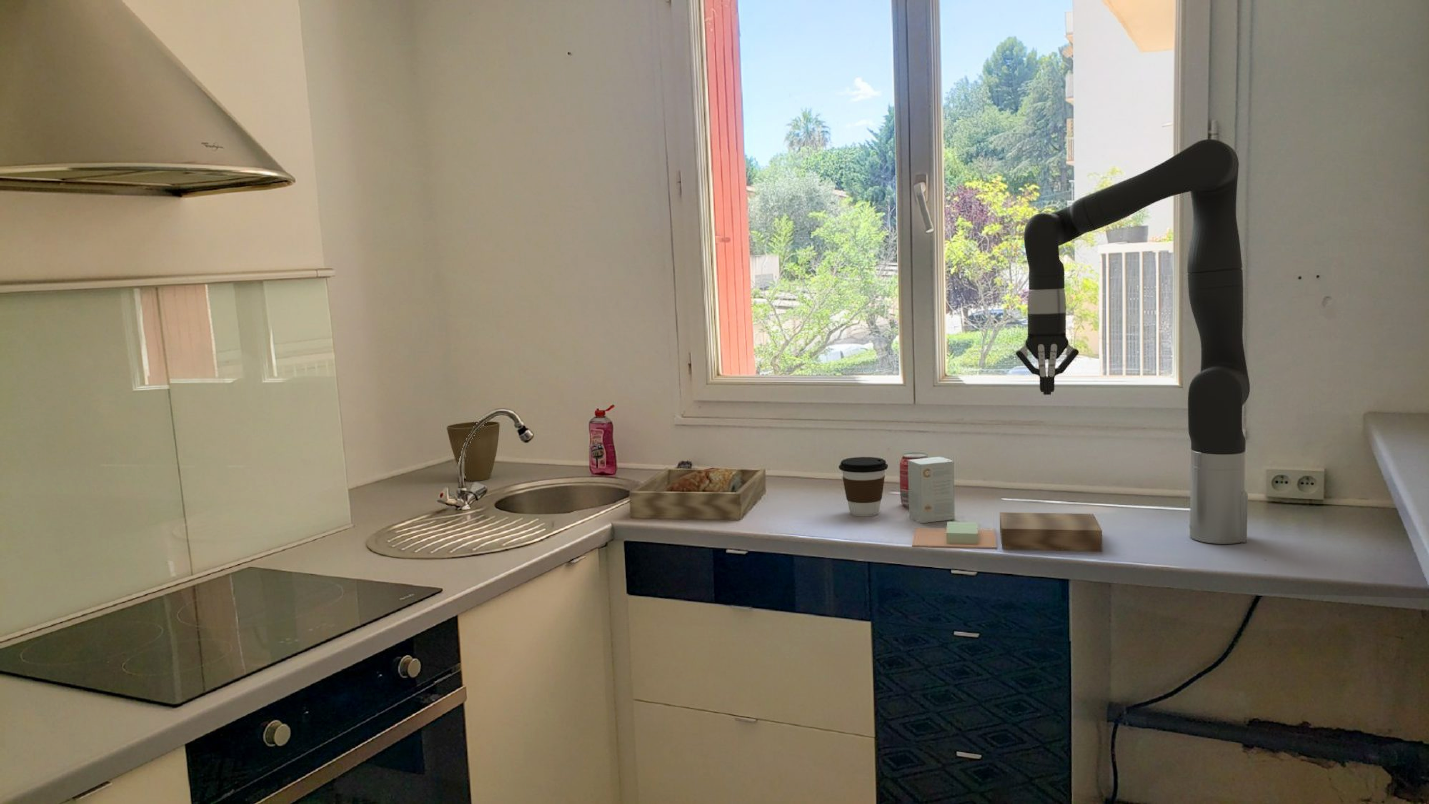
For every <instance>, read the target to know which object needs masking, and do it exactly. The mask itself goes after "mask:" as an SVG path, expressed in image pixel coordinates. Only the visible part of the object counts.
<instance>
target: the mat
mask: <svg viewBox="0 0 1429 804" xmlns="http://www.w3.org/2000/svg"><path fill="white" fill-rule="evenodd" d="M946 531H947V528H915V529H914V534H913V538H912V539H913V540H912V544H911V547H912V548H913V547H914V548H915V547H916V548H948V549H949V548H951V549H952V548H953V549H955V548H957V549H994V550H995V549H996V550H997V537H996V530H995V529H978V544H973V543H946Z"/></svg>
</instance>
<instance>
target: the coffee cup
mask: <svg viewBox="0 0 1429 804" xmlns="http://www.w3.org/2000/svg"><path fill="white" fill-rule="evenodd" d="M888 468H889V465H888V464H887V462H886V460H885V459H884V458H881V457H873V456H855V457H848V458H844V459H842V460H841V461H840V464H839V465H838V469H839V470H840V471H841V472H842V481H843V489H844V492H845V498H846V500H847V505H848V509H849V512H850V513H851V515H853V516H856V517H870V516H871V517H873V516H876V515H878V513H879V512H880V510H881V509H880V508H881V501H882V499H883V493H884V485H885V478H886V476H885V472H886V470H887V469H888Z"/></svg>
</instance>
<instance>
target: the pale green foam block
mask: <svg viewBox="0 0 1429 804" xmlns="http://www.w3.org/2000/svg"><path fill="white" fill-rule="evenodd" d="M946 523H947V525H946V529H947V531H946V543H973V544H978V530H979V522H978V521H977V522H976V521H975V522H974V521H947V522H946Z"/></svg>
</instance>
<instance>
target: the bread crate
mask: <svg viewBox="0 0 1429 804" xmlns="http://www.w3.org/2000/svg"><path fill="white" fill-rule="evenodd" d="M704 469H705V468H664V469H663V470H661V471H660V472H658V473H657V474H655V475H653V476H652V477H650V478H649V479H647V480H646V481H644V482H643V483H641V484H640V485H638V486H637V487H635V488H634V489H632V490H630V491H629V492H628V496H629V511H630V512H629V513H630V518H631V519H632V518H633V519H684V520H685V519H686V520H689V519H690V520H729V519H730V520H731V519H733V520H734V519H736V521H737V520H739V519H740V520H739V521H741V520H742V519H743V518H745V516H747V514H748V513H749V512H750V511H751V510H752V509H753V508H754V507H755V505H756V504H757V503H758V502H759V501H760V500H761V499H762V498H763V497H764V495H766V494H767V478H766V474H767V473H766V468H735V469H736V470H740V471H741V473H742V485H743V486H742V487H741V488H740V489H739V490H738V491H737V492H663V491H664V490H665V489H666V488H667V487H668V486H669V485H670V484H671V483H673V482H674V481H676V480H677V479H679V478H681V477H682V476H684V475H687V474H689V473H692V472H696V471H700V470H704ZM733 520H731V521H733Z"/></svg>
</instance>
